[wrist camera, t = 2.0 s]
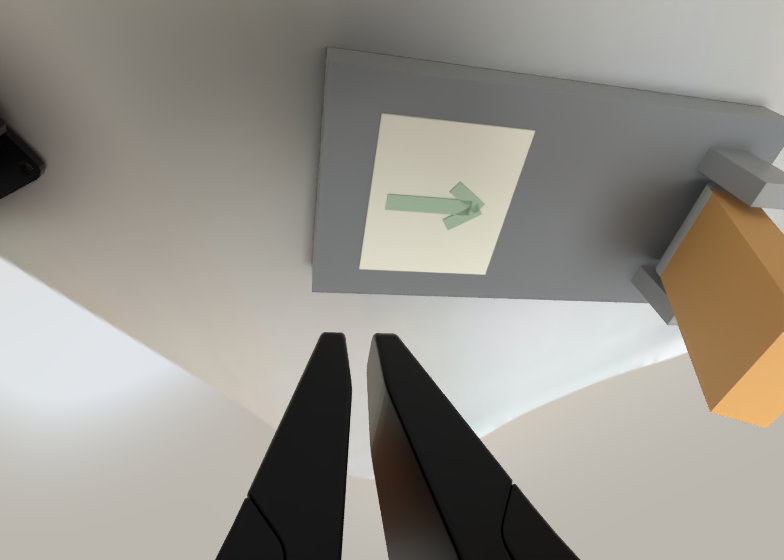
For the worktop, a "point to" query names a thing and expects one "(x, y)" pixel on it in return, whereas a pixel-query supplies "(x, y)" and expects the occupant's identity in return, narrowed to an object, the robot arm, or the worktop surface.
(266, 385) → the worktop surface
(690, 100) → the switch panel
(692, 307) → the orange lever
